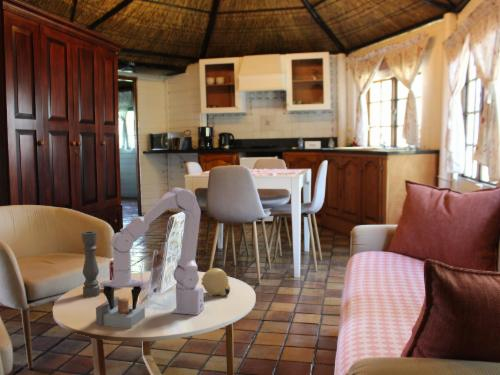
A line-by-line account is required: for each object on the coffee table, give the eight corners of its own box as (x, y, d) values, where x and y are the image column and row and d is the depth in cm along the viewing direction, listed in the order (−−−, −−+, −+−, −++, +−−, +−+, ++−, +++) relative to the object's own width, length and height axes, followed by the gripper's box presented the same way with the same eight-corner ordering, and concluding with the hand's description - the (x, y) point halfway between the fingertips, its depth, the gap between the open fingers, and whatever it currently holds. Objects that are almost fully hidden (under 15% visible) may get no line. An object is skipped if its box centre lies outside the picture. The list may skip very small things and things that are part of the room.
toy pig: (216, 307, 190) (237, 289, 189) (195, 285, 188) (216, 267, 188) (216, 298, 200) (236, 281, 199) (196, 277, 198) (216, 260, 197)
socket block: (144, 318, 169) (144, 307, 169) (131, 329, 160) (131, 317, 159) (118, 316, 172) (118, 305, 171) (103, 326, 162) (103, 314, 161)
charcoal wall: (119, 313, 173) (119, 296, 172) (102, 326, 161) (101, 308, 161) (114, 313, 173) (113, 296, 173) (96, 325, 162) (95, 307, 161)
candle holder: (95, 297, 190) (93, 234, 188) (80, 296, 191) (78, 233, 189) (102, 292, 197) (100, 231, 194) (87, 291, 198) (85, 230, 195)
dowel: (130, 318, 167) (129, 298, 166) (127, 322, 163) (126, 301, 162) (120, 318, 167) (119, 298, 166) (117, 322, 163) (116, 301, 163)
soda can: (111, 285, 206) (110, 257, 205) (124, 285, 206) (123, 257, 205) (108, 289, 201) (107, 260, 200) (121, 289, 201) (121, 260, 200)
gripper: (146, 265, 167) (147, 304, 168) (104, 265, 167) (105, 304, 169) (141, 271, 160) (142, 311, 161) (97, 271, 160) (98, 311, 162)
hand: (123, 308), depth 164 cm, fingers open, 7 cm apart
